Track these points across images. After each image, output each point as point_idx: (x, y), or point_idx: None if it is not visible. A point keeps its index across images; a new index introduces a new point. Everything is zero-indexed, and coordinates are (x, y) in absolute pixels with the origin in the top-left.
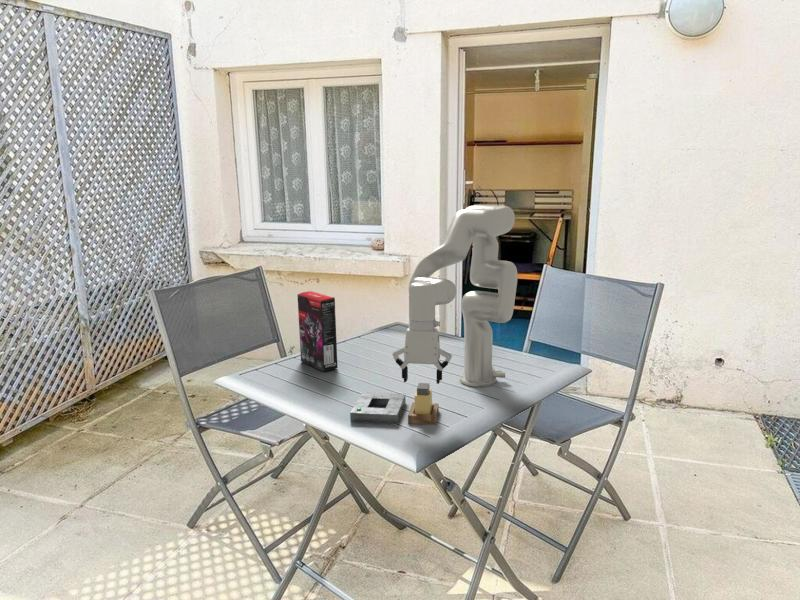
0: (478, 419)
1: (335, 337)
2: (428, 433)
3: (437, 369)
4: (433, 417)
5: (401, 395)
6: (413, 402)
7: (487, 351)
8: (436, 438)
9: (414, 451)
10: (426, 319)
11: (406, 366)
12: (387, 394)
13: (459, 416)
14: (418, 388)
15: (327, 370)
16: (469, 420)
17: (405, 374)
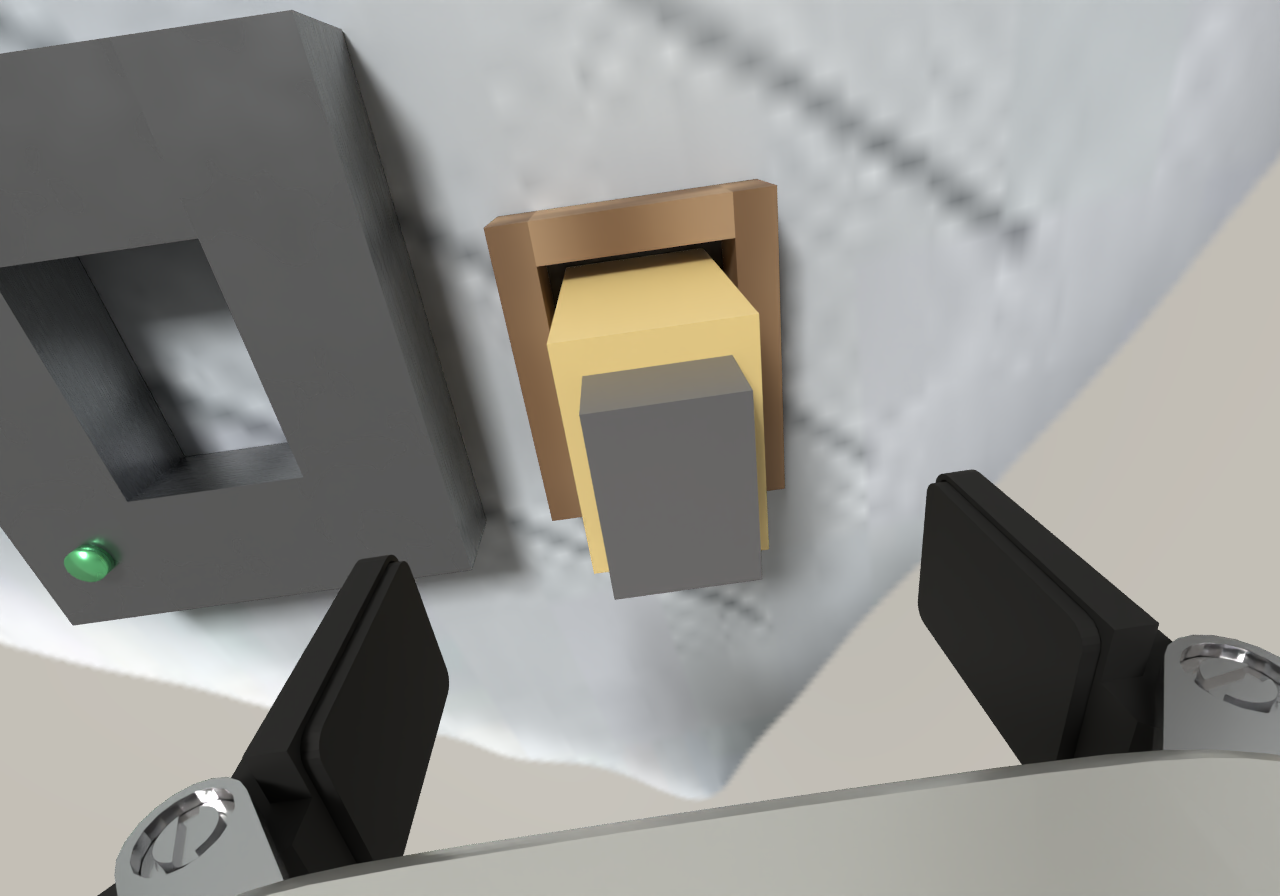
0: (1123, 271)
1: None
2: None
3: (1074, 714)
4: (767, 485)
5: (269, 84)
6: (494, 226)
7: None
8: (801, 622)
9: (704, 758)
10: None
11: (314, 836)
12: (72, 94)
13: (959, 250)
14: (635, 594)
15: None
16: (1041, 311)
17: (408, 803)
